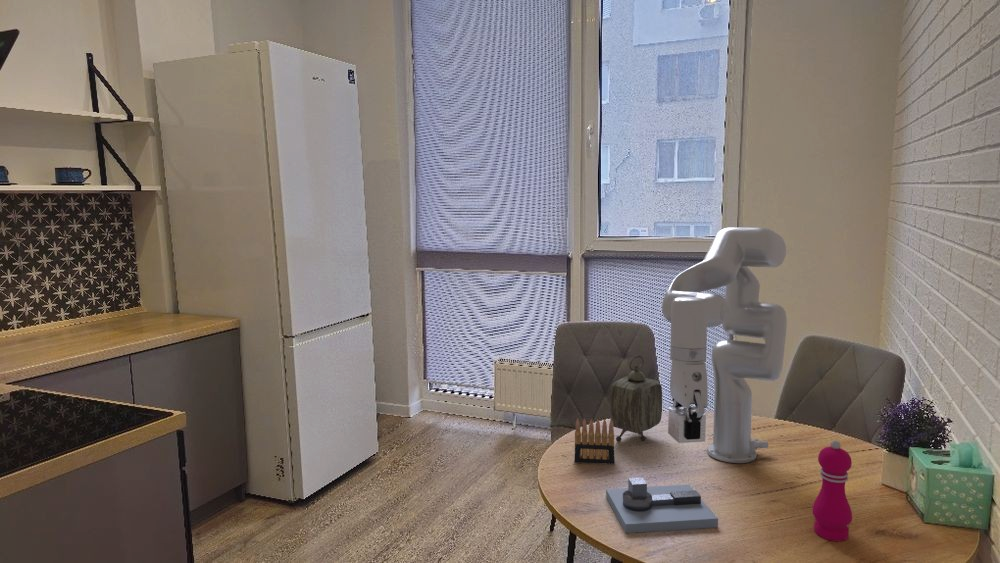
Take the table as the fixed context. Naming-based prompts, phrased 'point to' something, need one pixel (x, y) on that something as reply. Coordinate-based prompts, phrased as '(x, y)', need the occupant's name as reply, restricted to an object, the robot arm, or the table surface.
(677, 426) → the matte grey cube
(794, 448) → the table surface
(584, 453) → the ammunition clip
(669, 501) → the ratchet
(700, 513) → the slate board
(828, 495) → the pepper mill
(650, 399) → the tabletop clock
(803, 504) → the table surface
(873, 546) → the table surface
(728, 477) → the table surface
